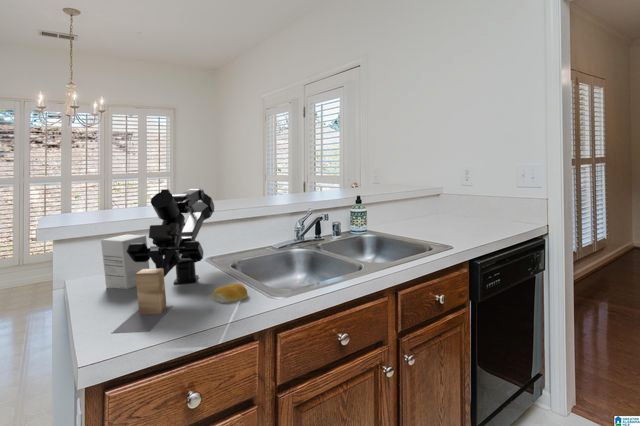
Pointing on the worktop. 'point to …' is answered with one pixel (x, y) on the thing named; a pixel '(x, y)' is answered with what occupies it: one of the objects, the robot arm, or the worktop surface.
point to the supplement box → (121, 261)
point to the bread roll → (230, 293)
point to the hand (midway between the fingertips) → (159, 279)
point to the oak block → (151, 291)
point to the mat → (141, 322)
